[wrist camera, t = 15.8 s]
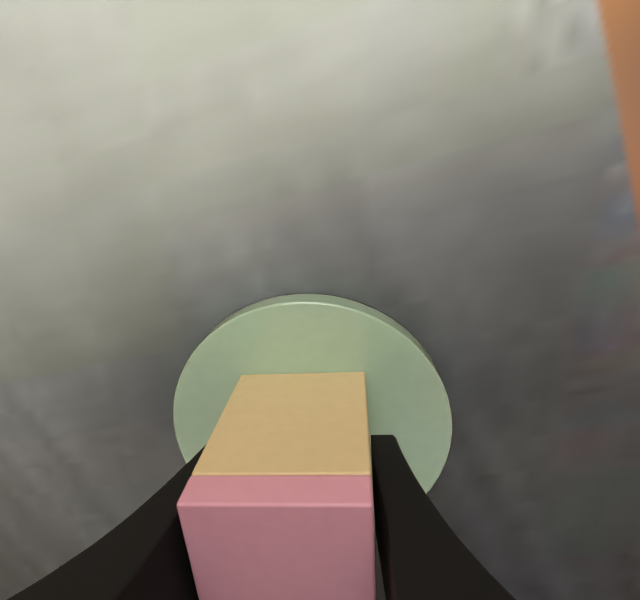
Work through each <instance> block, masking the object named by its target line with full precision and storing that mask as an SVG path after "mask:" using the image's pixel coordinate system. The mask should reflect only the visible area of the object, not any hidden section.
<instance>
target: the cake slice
mask: <svg viewBox="0 0 640 600" xmlns="http://www.w3.org/2000/svg"><path fill="white" fill-rule="evenodd" d="M177 510H178V514H179V518H180V522H181V527H182V531H183V535H184V539H185V543H186V548H187V552H188V556H189V560H190V564H191V569H192V573H193V577H194V581H195V585H196V590H197V594H198V598H199V600H377V592H376V563H375V534H374V506H373V490H372V474H371V458H370V442H369V427H368V411H367V395H366V379H365V373H364V372H331V373H292V374H254V375H241V377H240V379H239V381H238V383H237V385H236V387H235V389H234V391H233V393H232V395H231V397H230V399H229V401H228V403H227V405H226V407H225V409H224V410H223V412H222V414H221V416H220V418H219V420H218V422H217V424H216V426H215V428H214V430H213V432H212V434H211V436H210V438H209V440H208V442H207V444H206V446H205V448H204V450H203V452H202V454H201V456H200V458H199V460H198V462H197V464H196V466H195V468H194V470H193V472H192V476H191V477H190V478H189V480H188V482H187V484H186V486H185V488H184V490H183V492H182V494H181V496H180V498H179V500H178V502H177Z"/></svg>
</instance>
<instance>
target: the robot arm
mask: <svg viewBox="0 0 640 600" xmlns="http://www.w3.org/2000/svg"><path fill="white" fill-rule="evenodd" d="M205 446H206V445H205ZM205 446H204V447H203V448H202V449H201V450H200V451H199V452H198V453H197V454H196V455H195V456H194V457H193V458H192V459H191V460H190V461H189V462H188V463H187V464H186V465H185V466H184V467H183V468H182V469H181V470H180V471H179V472H178V473H177V474H176V475H175V476H174V477H173V478H172V479H171V480H169V481H168V482H167V483H166V484H165V485H164V486H163V487H162V488H161V489H160V490H159V491H158V492H156V493H155V494H154V495H153V496H152V497H151V498H150V499H149V500H147V501H146V502H145V503H144V504H143V505H142V506H141V507H140V508H138V509H137V510H136V511H135V512H134V513H133V514H132V515H130V516H129V517H128V518H127V519H125V520H124V521H123V522H122V523H120V524H119V525H118V526H117V527H115V528H114V529H113V530H112V531H110V532H109V533H108V534H106V535H105V536H104V537H102V538H101V539H100V540H98V541H97V542H96V543H94V544H93V545H92V546H90V547H89V548H87V549H86V550H84V551H83V552H81V553H80V554H78V555H77V556H76V557H74V558H73V559H71V560H70V561H68V562H67V563H65V564H64V565H62V566H61V567H59V568H58V569H56V570H55V571H53V572H52V573H50V574H49V575H47V576H46V577H44V578H42V579H41V580H39V581H38V582H36V583H34V584H33V585H31V586H29V587H28V588H26V589H24V590H23V591H21V592H19V593H18V594H16V595H14V596H13V597H11V598H9V599H7V600H199V598H198V594H197V590H196V585H195V581H194V577H193V573H192V569H191V564H190V560H189V556H188V552H187V548H186V543H185V539H184V535H183V531H182V527H181V522H180V518H179V514H178V510H177V502H178V500H179V498H180V496H181V494H182V492H183V490H184V488H185V486H186V484H187V482H188V480H189V478H190V477H191V476H192V472H193V470H194V468H195V466H196V464H197V462H198V460H199V458H200V456H201V454H202V452H203V450H204V448H205ZM371 457H372V481H373V501H374V518H375V531H376V538H377V544H378V551H379V558H380V564H381V571H382V577H383V584H384V590H385V597H386V600H515V599H514V598H513V597H512V596H511V595H510V594H509V592H508V591H507V590H506V589H505V588H504V587H503V586H502V585H501V584H500V583H499V582H498V581H497V580H496V579H495V578H494V577H493V576H492V575H491V574H490V573H489V572H488V571H487V570H486V569H485V568H484V567H483V566H482V565H481V564H480V563H479V561H478V560H477V559H476V558H475V557H474V556H473V555H472V553H471V552H470V551H469V550H468V549H467V548H466V547H465V545H464V544H463V543H462V542H461V541H460V539H459V538H458V537H457V536H456V534H455V533H454V532H453V531H452V529H451V528H450V527H449V526H448V524H447V523H446V522H445V520H444V519H443V518H442V516H441V515H440V513H439V512H438V511H437V509H436V508H435V506H434V505H433V504H432V502H431V501H430V499H429V498H428V496H427V495H426V493H425V491H424V490H423V488H422V487H421V485H420V483H419V482H418V480H417V479H416V477H415V475H414V474H413V472H412V470H411V468H410V467H409V465H408V463H407V461H406V459H405V457H404V455H403V453H402V451H401V449H400V446H399V444H398V442H397V439H396V437H395V436H393V435H371Z"/></svg>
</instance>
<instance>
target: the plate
mask: <svg viewBox="0 0 640 600" xmlns="http://www.w3.org/2000/svg"><path fill="white" fill-rule="evenodd" d="M331 372H364V373H365V379H366V395H367V411H368V427H369V442H370V458H371V474H372V457H371V435H393V436H395V437H396V439H397V442H398V444H399V446H400V449H401V451H402V453H403V455H404V457H405V459H406V461H407V463H408V465H409V467H410V468H411V470H412V472H413V474H414V475H415V477H416V479H417V480H418V482H419V483H420V485H421V487H422V488H423V490H424V491H425V493H426V494H427V492H428V491H429V490H430V489H431V488H432V486H433V485H434V483H435V482H436V480H437V479H438V477H439V476H440V474H441V471H442V469H443V467H444V465H445V463H446V460H447V456H448V453H449V449H450V446H451V438H452V413H451V408H450V403H449V398H448V395H447V393H446V390H445V387H444V385H443V382H442V380H441V377H440V375H439V372H438V370H437V368H436V366H435V365H434V363H433V361H432V359H431V357H430V356H429V355H428V353H427V352H426V351H425V349H424V348H423V347H422V345H421V344H420V343H419V342H418V341H417V340H416V339H415V338H414V337H413V336H412V335H411V334H410V333H409V332H408V331H407V330H406V329H405V328H403V327H402V326H401V325H399V324H398V323H397V322H395V321H394V320H393V319H391V318H390V317H388V316H386V315H384V314H383V313H381V312H379V311H377V310H376V309H373V308H371V307H368V306H366V305H364V304H361V303H359V302H356V301H352V300H348V299H345V298H341V297H336V296H329V295H322V294H293V295H284V296H278V297H274V298H270V299H266V300H262V301H259V302H257V303H254V304H252V305H249V306H246V307H244V308H242V309H241V310H239V311H237V312H235V313H234V314H232V315H230V316H229V317H227V318H226V319H225V320H223V321H222V322H221V323H219V324H218V325H217V326H216V327H215V328H214V329H213V330H212V331H211V332H210V333H209V334H208V335H207V336H206V337H205V338H204V339H203V340H202V342H201V343H200V344H199V345H198V347H197V348H196V349H195V351H194V352H193V353H192V355H191V356H190V358H189V359H188V361H187V362H186V364H185V366H184V368H183V370H182V372H181V374H180V377H179V381H178V384H177V387H176V391H175V397H174V404H173V421H174V428H175V434H176V438H177V442H178V445H179V448H180V451H181V453H182V455H183V457H184V460H185V462H186V464H187V463H188V462H189V461H190V460H191V459H192V458H193V457H194V456H195V455H196V454H197V453H198V452H199V451H200V450H201V449H202V448H203V447H204V446H205V445H206V444H207V442H208V440H209V438H210V436H211V434H212V432H213V430H214V428H215V426H216V424H217V422H218V420H219V418H220V416H221V414H222V412H223V410H224V409H225V407H226V405H227V403H228V401H229V399H230V397H231V395H232V393H233V391H234V389H235V387H236V385H237V383H238V381H239V379H240V377H241V375H254V374H292V373H331ZM372 490H373V481H372ZM373 506H374V501H373ZM374 529H375V518H374Z"/></svg>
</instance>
